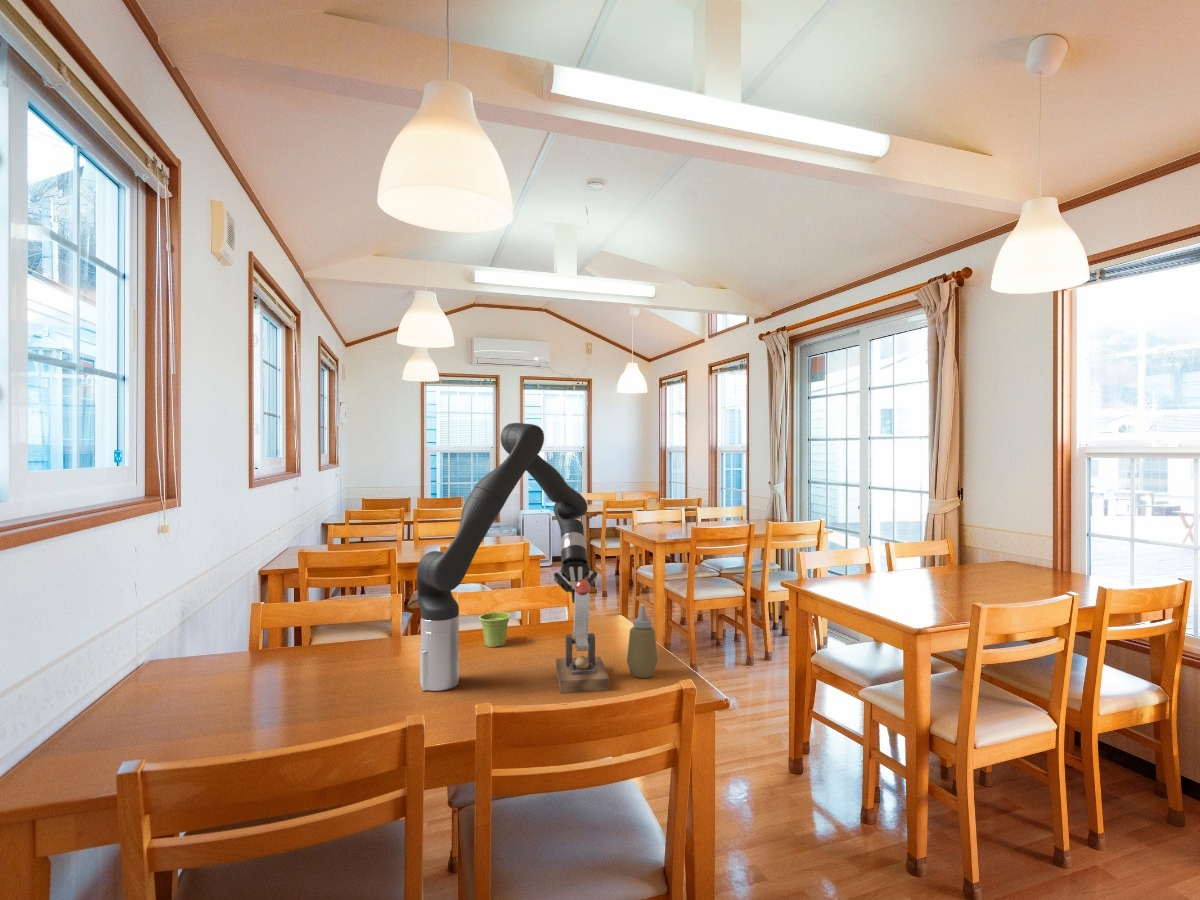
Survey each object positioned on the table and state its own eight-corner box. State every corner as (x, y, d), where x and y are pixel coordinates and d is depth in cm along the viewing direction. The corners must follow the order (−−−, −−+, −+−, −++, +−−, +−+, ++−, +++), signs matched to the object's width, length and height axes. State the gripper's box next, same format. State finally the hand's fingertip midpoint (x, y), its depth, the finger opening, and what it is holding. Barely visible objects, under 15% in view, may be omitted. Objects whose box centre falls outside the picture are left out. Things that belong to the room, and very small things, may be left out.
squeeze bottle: (658, 680, 155) (658, 610, 155) (627, 680, 155) (627, 610, 155) (656, 669, 163) (656, 602, 163) (626, 669, 163) (626, 602, 163)
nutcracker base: (560, 693, 147) (560, 649, 147) (556, 669, 162) (556, 630, 162) (609, 690, 148) (609, 647, 148) (600, 667, 164) (600, 628, 164)
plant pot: (473, 647, 181) (473, 618, 181) (488, 638, 190) (488, 611, 190) (501, 650, 178) (501, 621, 178) (515, 641, 187) (515, 613, 187)
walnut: (578, 673, 152) (578, 659, 152) (573, 668, 155) (573, 655, 155) (591, 671, 153) (591, 657, 153) (585, 666, 156) (585, 653, 156)
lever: (574, 651, 153) (576, 592, 147) (572, 633, 160) (574, 576, 154) (590, 650, 153) (593, 591, 148) (587, 632, 160) (589, 576, 155)
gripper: (551, 544, 175) (554, 596, 162) (597, 543, 176) (602, 595, 164) (550, 559, 180) (553, 611, 168) (594, 558, 182) (600, 609, 169)
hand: (577, 603), depth 166 cm, fingers closed
